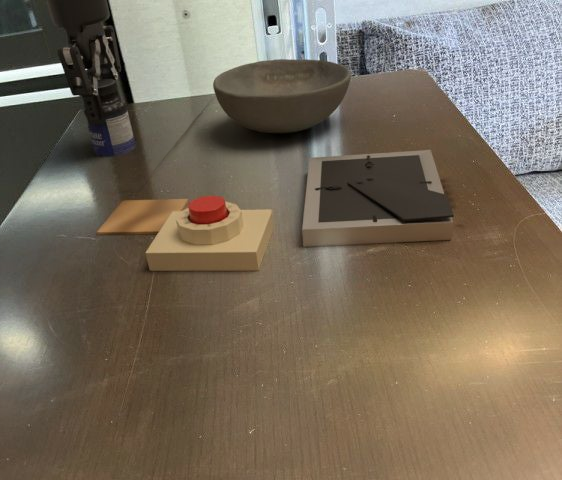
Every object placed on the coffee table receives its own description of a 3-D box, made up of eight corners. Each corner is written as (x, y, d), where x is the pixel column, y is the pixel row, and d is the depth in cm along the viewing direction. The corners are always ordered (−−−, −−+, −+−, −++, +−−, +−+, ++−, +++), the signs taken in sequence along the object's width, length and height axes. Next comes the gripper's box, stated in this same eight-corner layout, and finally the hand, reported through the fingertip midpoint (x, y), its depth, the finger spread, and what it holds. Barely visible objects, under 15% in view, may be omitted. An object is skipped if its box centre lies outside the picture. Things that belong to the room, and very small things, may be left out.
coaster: (97, 235, 75) (96, 232, 75) (123, 203, 82) (122, 200, 82) (168, 234, 73) (167, 231, 73) (188, 201, 80) (188, 198, 80)
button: (186, 227, 66) (183, 211, 65) (196, 210, 69) (193, 195, 68) (222, 226, 65) (220, 211, 64) (231, 210, 68) (228, 195, 67)
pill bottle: (91, 162, 95) (69, 85, 88) (126, 150, 98) (107, 74, 91) (110, 171, 91) (88, 91, 84) (146, 158, 94) (128, 80, 87)
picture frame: (451, 240, 66) (429, 165, 82) (453, 215, 64) (431, 144, 80) (303, 247, 68) (310, 173, 84) (301, 223, 66) (308, 152, 82)
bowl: (228, 112, 108) (221, 62, 103) (348, 101, 107) (347, 50, 102) (213, 156, 92) (204, 99, 87) (355, 145, 90) (354, 86, 85)
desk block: (149, 271, 67) (141, 237, 64) (176, 228, 74) (169, 196, 72) (258, 270, 65) (254, 235, 62) (274, 226, 72) (271, 193, 70)
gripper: (68, -26, 86) (101, 102, 97) (18, -8, 75) (62, 133, 86) (118, -30, 85) (147, 99, 95) (76, -13, 74) (113, 131, 84)
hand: (106, 115), depth 90 cm, fingers closed on pill bottle, 6 cm apart
